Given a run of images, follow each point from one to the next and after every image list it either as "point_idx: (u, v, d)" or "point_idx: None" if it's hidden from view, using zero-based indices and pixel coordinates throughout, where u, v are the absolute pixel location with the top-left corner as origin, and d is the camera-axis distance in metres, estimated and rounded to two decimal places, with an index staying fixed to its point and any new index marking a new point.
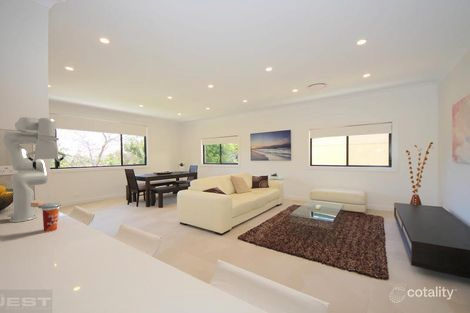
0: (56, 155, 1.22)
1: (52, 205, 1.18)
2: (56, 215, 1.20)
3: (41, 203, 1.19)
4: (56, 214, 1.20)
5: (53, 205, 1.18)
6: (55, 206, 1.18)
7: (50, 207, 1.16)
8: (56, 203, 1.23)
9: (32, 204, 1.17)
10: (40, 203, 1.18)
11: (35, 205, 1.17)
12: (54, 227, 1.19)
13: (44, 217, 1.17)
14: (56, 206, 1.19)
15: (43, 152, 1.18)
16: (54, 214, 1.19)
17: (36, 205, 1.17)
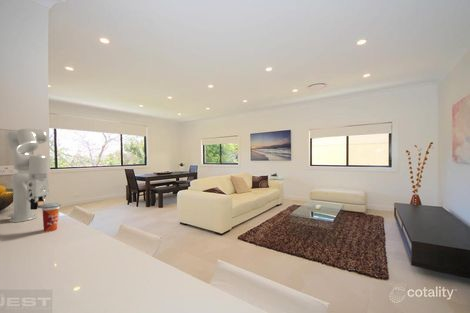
0: None
1: (52, 205, 1.18)
2: (56, 215, 1.20)
3: (41, 203, 1.19)
4: (56, 214, 1.20)
5: (53, 205, 1.18)
6: (55, 206, 1.18)
7: (50, 207, 1.16)
8: (56, 203, 1.23)
9: None
10: (40, 203, 1.18)
11: None
12: (54, 227, 1.19)
13: (44, 217, 1.17)
14: (56, 206, 1.18)
15: None
16: (54, 214, 1.19)
17: None
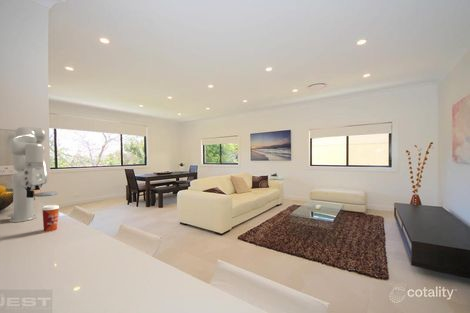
0: None
1: (48, 193, 1.18)
2: (56, 215, 1.20)
3: (37, 192, 1.19)
4: (56, 214, 1.20)
5: (49, 193, 1.18)
6: (51, 194, 1.18)
7: (46, 195, 1.16)
8: (52, 192, 1.23)
9: None
10: (36, 191, 1.18)
11: None
12: (54, 227, 1.19)
13: (44, 217, 1.17)
14: (52, 194, 1.18)
15: None
16: (54, 214, 1.19)
17: None
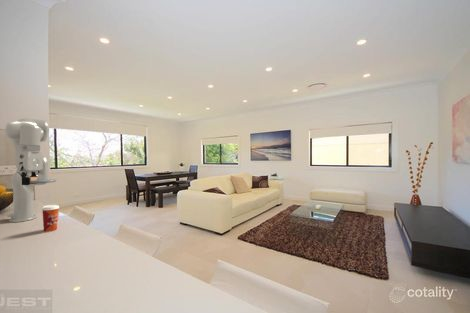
0: None
1: (46, 180, 1.06)
2: (56, 215, 1.20)
3: (34, 179, 1.06)
4: (56, 214, 1.20)
5: (47, 180, 1.06)
6: (50, 181, 1.05)
7: (44, 182, 1.03)
8: (51, 179, 1.10)
9: None
10: (33, 178, 1.06)
11: None
12: (54, 227, 1.19)
13: (44, 217, 1.17)
14: (51, 181, 1.06)
15: None
16: (54, 214, 1.19)
17: None
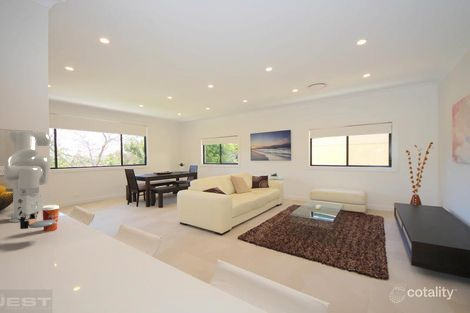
0: None
1: (45, 223, 1.05)
2: (56, 215, 1.20)
3: (33, 221, 1.05)
4: (56, 214, 1.20)
5: (46, 223, 1.05)
6: (48, 224, 1.04)
7: (43, 226, 1.02)
8: (50, 220, 1.09)
9: None
10: (31, 221, 1.05)
11: None
12: (54, 227, 1.19)
13: (44, 217, 1.17)
14: (50, 224, 1.05)
15: None
16: (54, 214, 1.19)
17: None
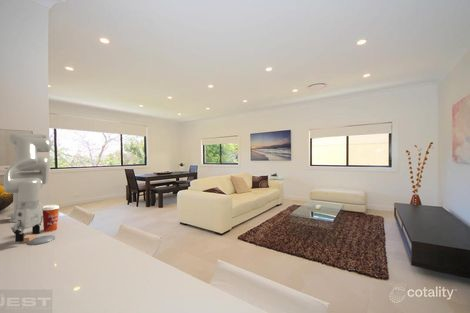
0: None
1: (45, 240, 1.05)
2: (56, 215, 1.20)
3: (32, 237, 1.05)
4: (56, 214, 1.20)
5: (46, 240, 1.05)
6: (48, 241, 1.04)
7: (42, 243, 1.02)
8: (49, 236, 1.09)
9: None
10: (31, 237, 1.05)
11: (25, 240, 1.03)
12: (54, 227, 1.19)
13: (44, 217, 1.17)
14: (49, 241, 1.05)
15: None
16: (54, 214, 1.19)
17: (26, 240, 1.03)
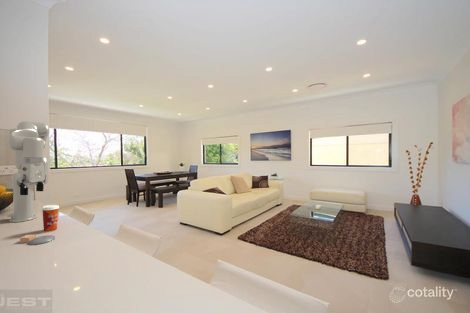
0: None
1: (45, 240, 1.05)
2: (56, 215, 1.20)
3: (32, 237, 1.05)
4: (56, 214, 1.20)
5: (46, 240, 1.05)
6: (48, 241, 1.04)
7: (42, 243, 1.02)
8: (49, 236, 1.09)
9: (22, 239, 1.03)
10: (31, 237, 1.05)
11: (25, 240, 1.03)
12: (54, 227, 1.19)
13: (44, 217, 1.17)
14: (49, 241, 1.05)
15: None
16: (54, 214, 1.19)
17: (26, 240, 1.03)
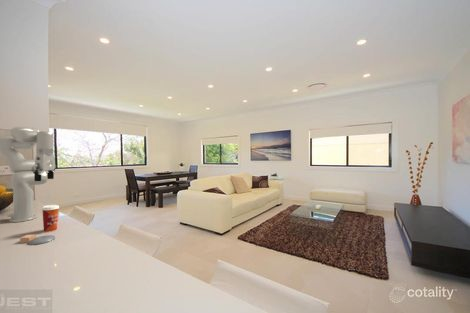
0: None
1: (45, 240, 1.05)
2: (56, 215, 1.20)
3: (32, 237, 1.05)
4: (56, 214, 1.20)
5: (46, 240, 1.05)
6: (48, 241, 1.04)
7: (42, 243, 1.02)
8: (49, 236, 1.09)
9: (22, 239, 1.03)
10: (31, 237, 1.05)
11: (25, 240, 1.03)
12: (54, 227, 1.19)
13: (44, 217, 1.17)
14: (49, 241, 1.05)
15: None
16: (54, 214, 1.19)
17: (26, 240, 1.03)
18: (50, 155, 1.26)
